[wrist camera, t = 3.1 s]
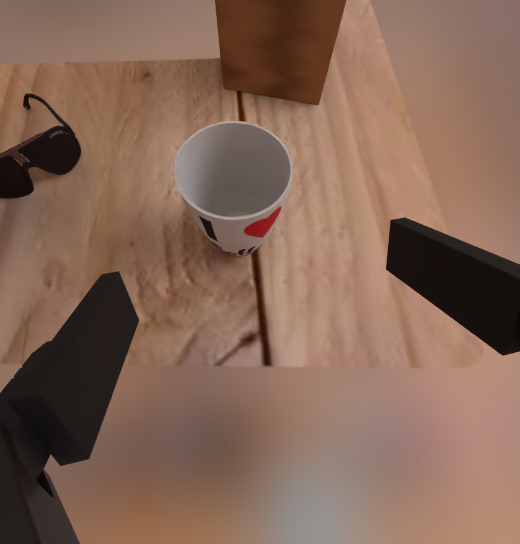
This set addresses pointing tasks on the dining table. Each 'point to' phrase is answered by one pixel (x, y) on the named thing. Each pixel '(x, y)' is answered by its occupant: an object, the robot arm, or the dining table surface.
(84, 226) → the dining table surface
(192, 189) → the cup
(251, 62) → the stand
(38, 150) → the sunglasses
